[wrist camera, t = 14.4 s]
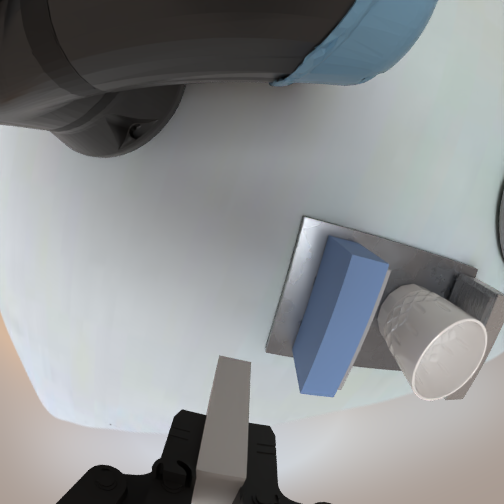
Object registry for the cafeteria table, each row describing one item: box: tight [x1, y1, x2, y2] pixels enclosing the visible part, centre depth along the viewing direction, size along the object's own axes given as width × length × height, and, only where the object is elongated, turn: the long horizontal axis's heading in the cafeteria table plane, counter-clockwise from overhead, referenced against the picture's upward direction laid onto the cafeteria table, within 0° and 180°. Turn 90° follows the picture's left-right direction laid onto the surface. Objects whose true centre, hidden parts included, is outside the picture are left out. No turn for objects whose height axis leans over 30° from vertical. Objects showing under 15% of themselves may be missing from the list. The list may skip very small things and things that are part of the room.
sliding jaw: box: [292, 235, 391, 397], centre depth 24 cm, size 4×12×7 cm, turn 167°
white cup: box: [377, 284, 487, 401], centre depth 23 cm, size 8×8×10 cm
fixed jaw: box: [444, 273, 504, 400], centre depth 25 cm, size 4×12×7 cm, turn 167°
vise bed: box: [265, 216, 478, 371], centre depth 28 cm, size 22×14×1 cm, turn 77°
